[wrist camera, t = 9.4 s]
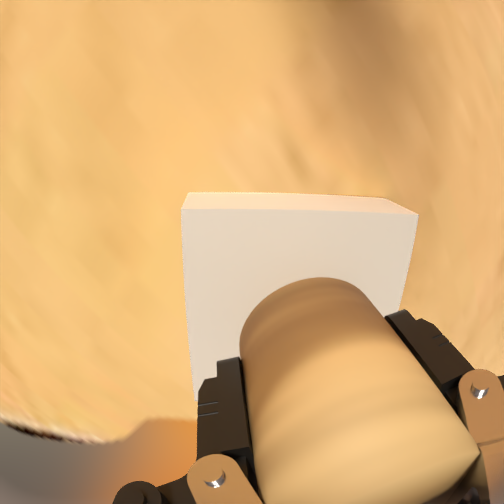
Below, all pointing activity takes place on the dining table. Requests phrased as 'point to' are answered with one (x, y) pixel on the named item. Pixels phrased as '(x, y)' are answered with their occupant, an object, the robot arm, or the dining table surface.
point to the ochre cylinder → (344, 404)
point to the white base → (282, 258)
